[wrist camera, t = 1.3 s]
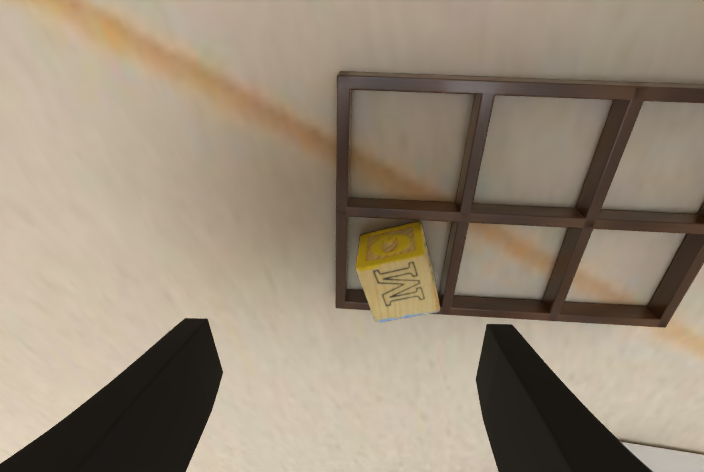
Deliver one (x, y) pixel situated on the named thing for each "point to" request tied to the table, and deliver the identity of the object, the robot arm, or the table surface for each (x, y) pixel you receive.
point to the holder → (587, 216)
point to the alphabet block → (397, 273)
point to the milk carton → (667, 459)
